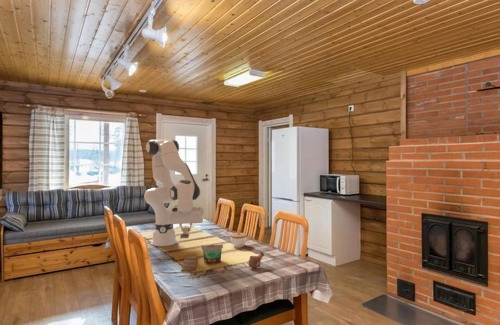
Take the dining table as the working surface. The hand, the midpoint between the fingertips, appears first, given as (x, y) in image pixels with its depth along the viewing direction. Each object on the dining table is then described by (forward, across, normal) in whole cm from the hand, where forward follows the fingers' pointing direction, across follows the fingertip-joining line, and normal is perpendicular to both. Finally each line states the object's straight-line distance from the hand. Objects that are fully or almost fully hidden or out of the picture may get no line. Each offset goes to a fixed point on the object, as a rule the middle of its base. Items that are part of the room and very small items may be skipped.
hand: (186, 230), depth 183 cm
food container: (+16, -16, +12) cm, 26 cm away
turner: (+2, 0, +2) cm, 3 cm away
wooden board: (+16, -3, +12) cm, 20 cm away
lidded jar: (+16, -32, -18) cm, 40 cm away
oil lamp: (+16, -39, +23) cm, 48 cm away
